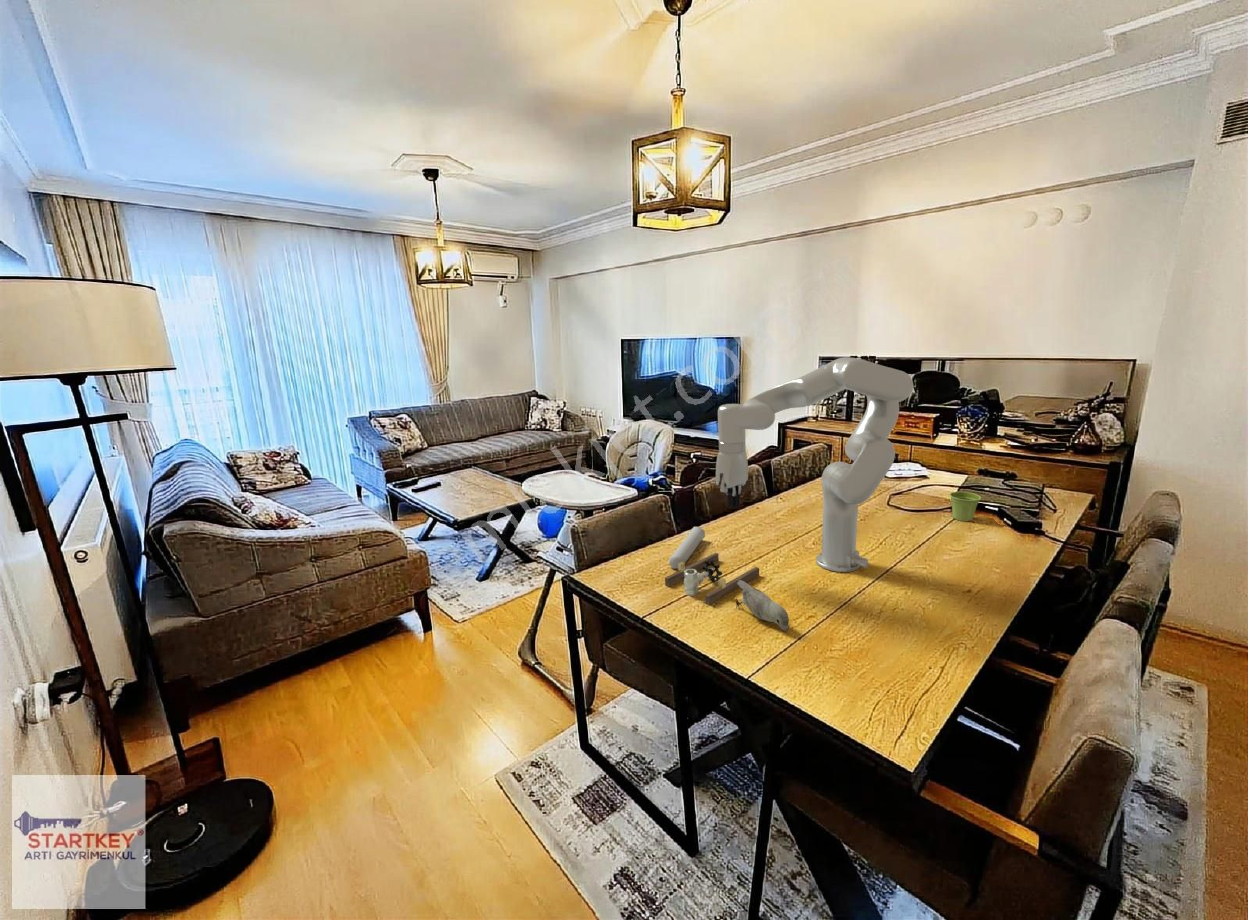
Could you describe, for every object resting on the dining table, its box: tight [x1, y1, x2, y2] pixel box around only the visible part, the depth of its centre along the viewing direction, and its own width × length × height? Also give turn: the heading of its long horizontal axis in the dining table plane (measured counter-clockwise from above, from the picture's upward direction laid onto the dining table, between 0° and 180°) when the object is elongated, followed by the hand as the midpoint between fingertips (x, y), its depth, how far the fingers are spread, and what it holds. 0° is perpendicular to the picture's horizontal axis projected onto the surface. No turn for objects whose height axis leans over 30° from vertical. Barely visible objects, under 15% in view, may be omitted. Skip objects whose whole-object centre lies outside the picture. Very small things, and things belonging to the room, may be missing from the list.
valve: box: [683, 560, 723, 597], centre depth 147 cm, size 7×7×12 cm
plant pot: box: [949, 491, 982, 522], centre depth 184 cm, size 9×9×9 cm
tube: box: [668, 526, 706, 570], centre depth 169 cm, size 5×5×25 cm
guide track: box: [664, 552, 760, 606], centre depth 151 cm, size 16×23×5 cm
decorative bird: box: [735, 580, 790, 633], centre depth 130 cm, size 5×16×8 cm, turn 31°
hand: (733, 507), depth 152 cm, fingers closed
